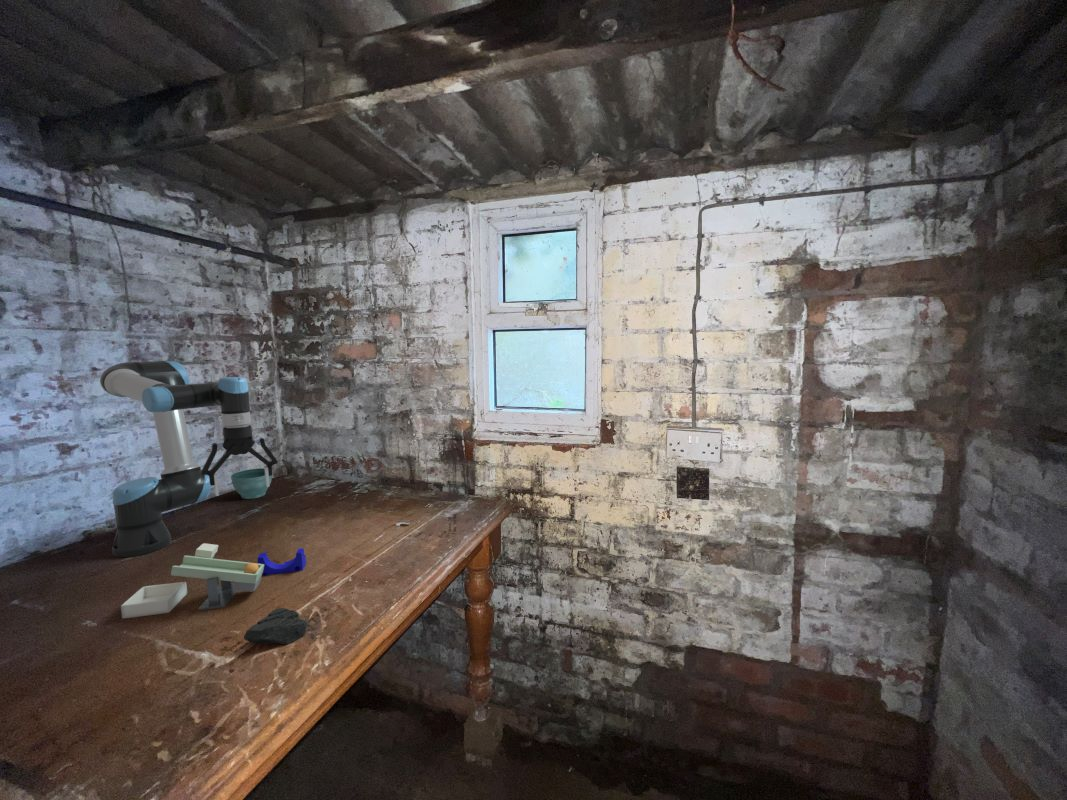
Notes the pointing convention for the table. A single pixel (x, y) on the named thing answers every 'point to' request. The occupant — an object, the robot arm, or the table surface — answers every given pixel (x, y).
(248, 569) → the ball
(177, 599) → the open white tray
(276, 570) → the cable clip
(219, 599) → the pivot stand
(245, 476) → the flower pot
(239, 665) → the table surface
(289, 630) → the rock
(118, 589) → the table surface
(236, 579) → the lever
